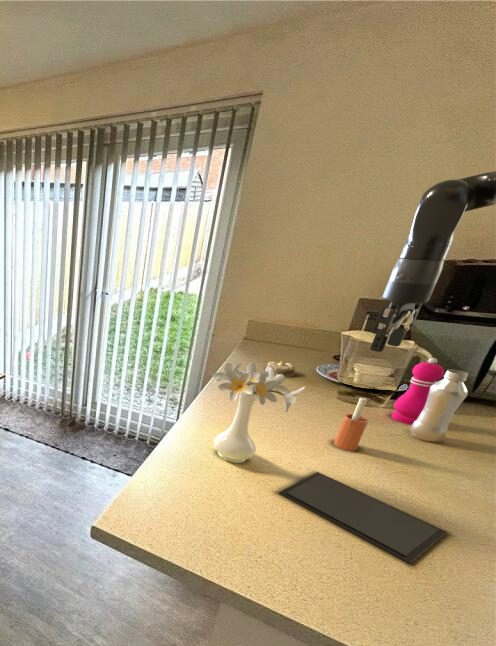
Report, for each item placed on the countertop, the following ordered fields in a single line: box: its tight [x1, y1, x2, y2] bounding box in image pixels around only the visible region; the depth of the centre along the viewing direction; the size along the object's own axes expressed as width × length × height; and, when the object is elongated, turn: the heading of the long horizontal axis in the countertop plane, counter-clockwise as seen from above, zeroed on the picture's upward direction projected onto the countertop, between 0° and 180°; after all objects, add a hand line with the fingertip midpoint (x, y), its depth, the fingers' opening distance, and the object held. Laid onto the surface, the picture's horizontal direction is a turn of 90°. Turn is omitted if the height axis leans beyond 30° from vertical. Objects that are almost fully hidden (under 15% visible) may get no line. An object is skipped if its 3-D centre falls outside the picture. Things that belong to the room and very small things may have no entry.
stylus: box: [352, 397, 368, 421], centre depth 102 cm, size 1×1×14 cm
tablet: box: [278, 471, 448, 565], centre depth 82 cm, size 22×16×1 cm
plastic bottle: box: [409, 368, 469, 443], centre depth 104 cm, size 6×7×20 cm
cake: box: [264, 360, 296, 378], centre depth 153 cm, size 10×10×5 cm
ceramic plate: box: [316, 363, 408, 392], centre depth 144 cm, size 26×26×3 cm
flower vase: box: [211, 362, 307, 464], centre depth 97 cm, size 13×18×25 cm
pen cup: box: [333, 413, 369, 452], centre depth 103 cm, size 5×5×9 cm
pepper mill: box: [391, 357, 445, 425], centre depth 114 cm, size 7×7×20 cm
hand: (384, 348), depth 94 cm, fingers open, 8 cm apart
